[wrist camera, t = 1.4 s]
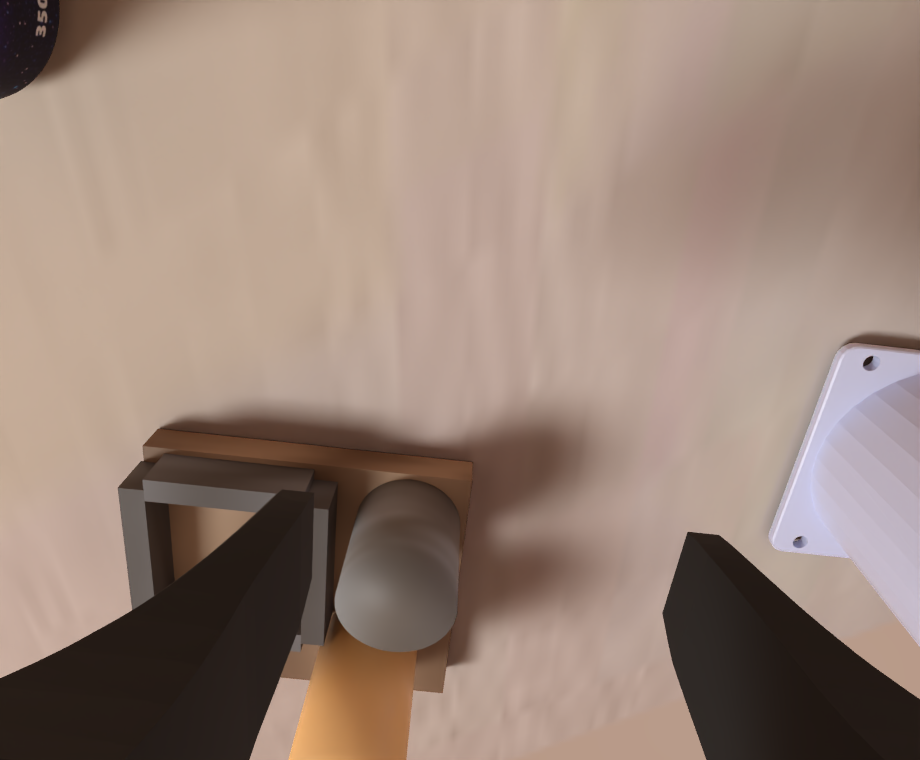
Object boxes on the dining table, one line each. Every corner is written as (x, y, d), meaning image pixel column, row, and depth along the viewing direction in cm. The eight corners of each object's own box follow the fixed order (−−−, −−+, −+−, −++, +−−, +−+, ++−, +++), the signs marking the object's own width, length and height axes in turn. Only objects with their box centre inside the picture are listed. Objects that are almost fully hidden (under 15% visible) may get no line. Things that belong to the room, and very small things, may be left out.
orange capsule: (421, 607, 25) (406, 757, 19) (413, 677, 26) (398, 835, 21) (324, 597, 25) (282, 745, 19) (322, 668, 26) (281, 824, 21)
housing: (472, 462, 24) (472, 558, 19) (443, 668, 28) (437, 790, 23) (155, 428, 23) (73, 518, 18) (173, 642, 27) (110, 760, 23)
